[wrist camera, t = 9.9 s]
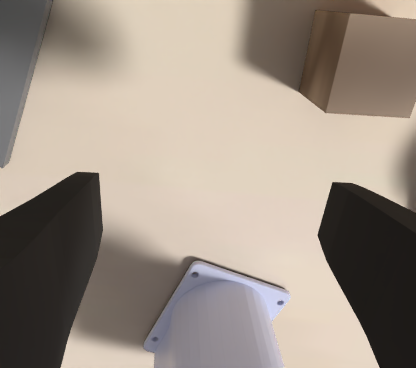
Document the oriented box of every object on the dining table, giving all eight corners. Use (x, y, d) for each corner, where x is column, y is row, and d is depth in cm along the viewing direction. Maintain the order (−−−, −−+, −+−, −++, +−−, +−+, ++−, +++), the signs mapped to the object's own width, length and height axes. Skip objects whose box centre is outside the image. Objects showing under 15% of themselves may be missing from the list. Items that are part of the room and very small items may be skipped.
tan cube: (367, 96, 19) (409, 117, 16) (298, 91, 19) (325, 112, 15) (390, 17, 18) (444, 22, 14) (314, 9, 17) (350, 13, 14)
